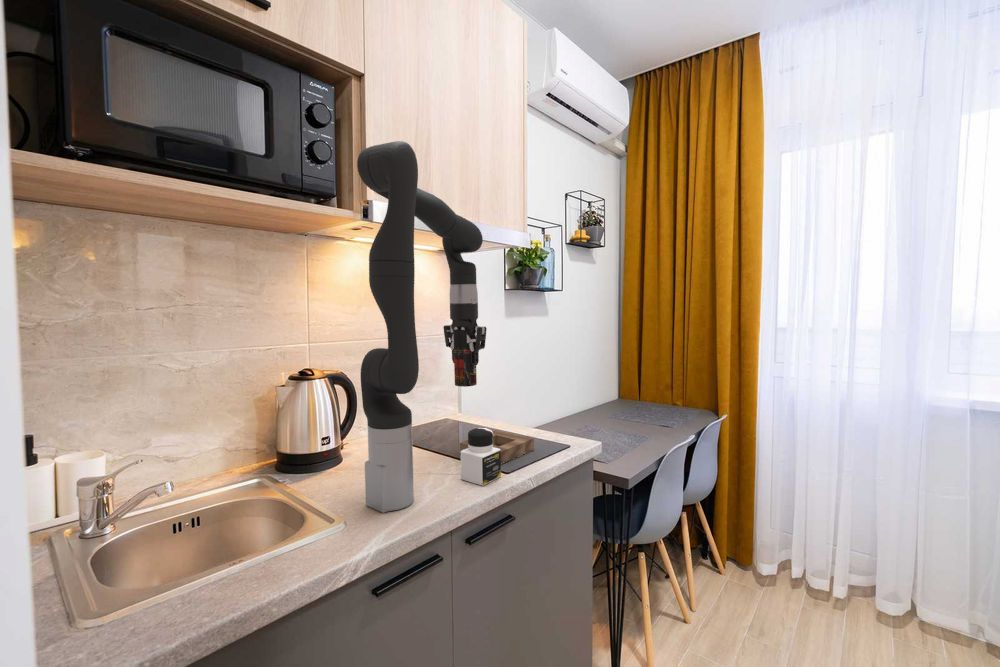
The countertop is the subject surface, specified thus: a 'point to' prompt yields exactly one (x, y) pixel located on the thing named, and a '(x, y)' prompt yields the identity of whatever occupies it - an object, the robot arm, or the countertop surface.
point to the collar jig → (508, 444)
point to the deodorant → (463, 360)
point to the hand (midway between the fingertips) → (465, 363)
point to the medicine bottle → (480, 458)
